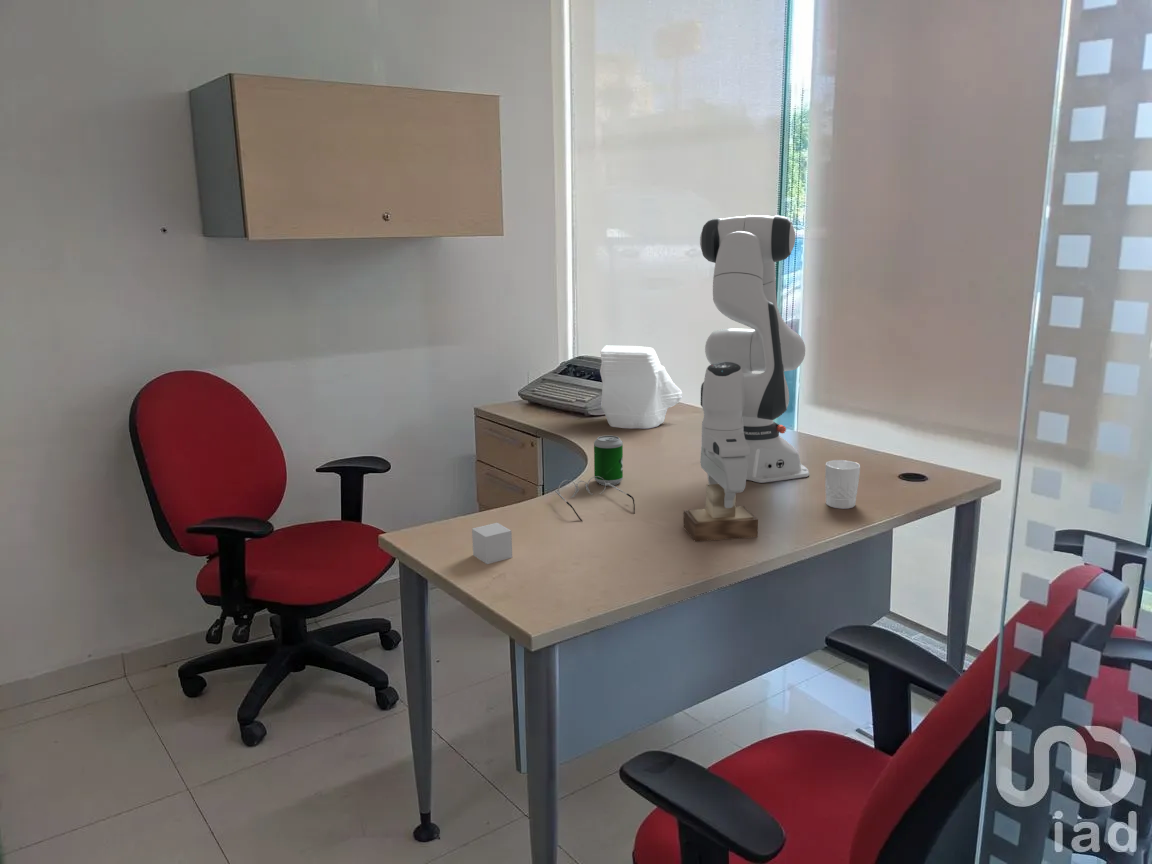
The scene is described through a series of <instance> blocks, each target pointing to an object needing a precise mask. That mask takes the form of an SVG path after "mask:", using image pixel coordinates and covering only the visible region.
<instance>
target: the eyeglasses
mask: <svg viewBox="0 0 1152 864" xmlns="http://www.w3.org/2000/svg"><path fill="white" fill-rule="evenodd" d="M595 477H599V476H595ZM600 478H601V477H600ZM593 479H594V476H593V477H591V478H590V479H589V480H588V482H586V481H584V480H579V481H578V482H577V483H575V482H574V481H573V480H570V479H564V480H563V481H561V482H560V484H559V486H558V488H557V489H555V490H554V491H555V493H556V494H557V495H558V496H559V497H560V498H561V499H562V500H563V501H565V503H566V505H568V506H570V508H571V509H572V510H573V512H574V514H575V515H576V517H577V518H578V520H579V521H580V522H582V523H583V522H584V520H583V519H582V518H581V517H580V516H579V514H578V513H577V512H576V509H575V508H574V507H573V505H572V504H571V503H569V501H567V500H566V498H565V497H563V496H562V495H561V493H560V488H561V485H562V484H563V483H564V482H567V481H569V482H572V484H574V487H575V488H574V489H575V491H574V493H573V495H572V496H571V498H574V497H575V496H576V495H577V493H578V492H579V491H580V487H579V485H578V484H579V483H581V482H582V483H585V489H586V491H587V492H588V494H589V495H593V493H592V492H591V491H590V488H589V483H590V482H591V480H593ZM602 479H603V478H602ZM603 480H604V479H603ZM604 482H605V481H604ZM606 485H610V486H609V487H612V488H613V489H615V490H617V491H619V492H621V493H624V494H625V495H626V496H628V497H629V498H631V499H632V503H633V515H634V514H636V512H635V511H636V508H635V507H636V504H635V499H634V497H633V496H632V495H631V494H630V493H627V492H624V490H622V489H619V488H618V487H616V485H611V484H609V483H605V485H604V489H603V490H602V491H601V492H600V493H599V495H601V494H602V493H604V491H605V490H606Z"/></svg>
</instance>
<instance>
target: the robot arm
mask: <svg viewBox="0 0 1152 864" xmlns="http://www.w3.org/2000/svg"><path fill="white" fill-rule="evenodd" d="M795 242H796V232H795V228H794V225H793V222H792V221H791V219H790V218H789V217H788V216H787V217H786V216H783V215H776V214H775V215H774V216H771V215H754V214H752V215H751V214H747V215H746V216H745V215H744V216H740V215H739V216H733V217H725V218H721V217H718V218H712V219H709V220H708V221H707V222H705V224H704V225H703V226H702V229H701V234H700V237H699V245H700V246H699V247H700V250H701V252H702V253H701V254H702V256H703V257H704V258H705V259H706V260H707V261H708V262H710V263H714V269H713V276H712V279H713V280H712V300H713V303H714V305H715V307H716V309H717V310H718V311H719V312H720V313H721V314H722V315H723V316H725V317H727V318H729V319H730V320H731V321H734V322H737V323H738V324H741V325H744V326H746V327H749V328H740V327H738V328H734V327H729V328H724V329H723V328H722V329H718V330H714V331H713V332H711V333H710V335H709V336H708V337H707V339H706V341H705V346H704V353H705V357H706V359H707V361H708V362H709V365H708V366H707V367H706V370H705V374H704V379H703V382H702V383H701V386H700V406H701V408H702V410H703V419H702V421H701V446H700V461H699V462H700V467H701V469H703V471H704V472H705V473H706V474H707V481H708V485H710V484H719V485H720V486H721V487H722V488H723V489H724V493H725V497H724V498H723V506H724V507H725V508H732V507H733V500H734V497H735V495H737V494H738V493H739V494H740V493H743V492H744V491H745V489H746V485H747V481H753V482H755V483H762V484H763V483H765V484H766V483H771V482H778V481H786V480H791V479H800V478H806V477H808V476H809V475H810V472H809V471H810V470H809V468H807V467H806V466H805V465H803V464H802V463H801V457H800V454H799V453H800V452H799V451H798V450H797V448H796V447H794V446H793V445H792V443H791V444H790V443H789V442H788V440H786V439H785V438H783V437H781V436H780V434H785V433H786V432H787V427H785V425H783V424H780V423H779V424H778V423H777V422H775V421H774V420H776V419H777V418H779V417H781V416H782V415H783V414H784V413H785V412H787V411H788V407H789V402H790V393H789V391H790V390H789V386H788V382H787V378H786V376H785V372H789V371H795V370H797V369H798V368H799V367H800V366H801V365H802V363H803V361H804V359H805V356H806V345H805V342H804V339H803V338H802V336H801V335H800V334H799V333H798V332H796V331H795V330H794V329H792V328H791V327H790V326H789V325H788V324H787V322H786V321H785V320H784V318H783V317H782V315H781V313H780V311H779V310H780V309H779V307H778V306H779V305H778V303H777V302H778V299H777V291H776V290H777V287H776V281H777V280H776V277H777V276H776V264H775V263H778V262H781V261H784V260H786V259H787V258H789V256H791V255H792V251H793V250H794V246H795V244H796V243H795ZM753 372H761V373H753Z"/></svg>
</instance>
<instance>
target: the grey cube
mask: <svg viewBox="0 0 1152 864" xmlns="http://www.w3.org/2000/svg"><path fill="white" fill-rule="evenodd" d="M471 534H472V535H471V538H472V556H474V557H475V558H477V559H478V560H480V561H481V562H483V563H485V565H489V564H494V563H497V562H501V561H504V560H505V561H506V560H508V559H511V558H513V540H512V539H513V538H512V530H511V529H509V528H507V527H506V526H504V525H502V524H501V523H499V522H494V523H489V524H486V525H481V526H477V527H474V528H473V527H472V528H471Z"/></svg>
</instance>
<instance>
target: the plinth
mask: <svg viewBox="0 0 1152 864" xmlns="http://www.w3.org/2000/svg"><path fill="white" fill-rule="evenodd" d="M683 528H684V530H685V531H686V532H687V534H688V535H689V536H690V537H691V539H692V540H693V541H694V543H697V542H710V541H721V540H734V539H735V540H736V539H747V538H758V532H759V519H758V518H757V517H756V516H755V515H754V514H753V513H752V512H751V510H749V509H748V508H747V507H746V506H745V505H742V506H741V505H740V506H735V517H721V518H712V517H711V515H710V514H709V513H708V512H707V511H706V508H699V509H698V508H697V509H685V510H683Z"/></svg>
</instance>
